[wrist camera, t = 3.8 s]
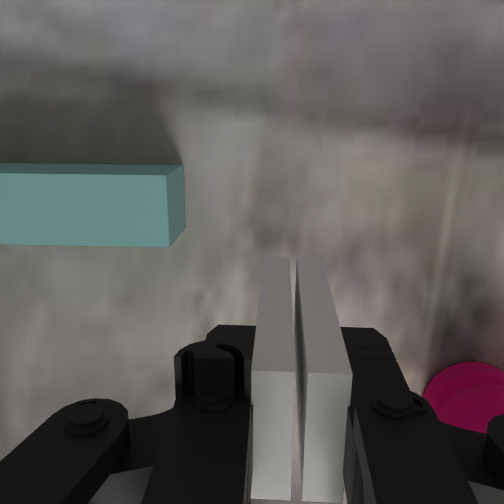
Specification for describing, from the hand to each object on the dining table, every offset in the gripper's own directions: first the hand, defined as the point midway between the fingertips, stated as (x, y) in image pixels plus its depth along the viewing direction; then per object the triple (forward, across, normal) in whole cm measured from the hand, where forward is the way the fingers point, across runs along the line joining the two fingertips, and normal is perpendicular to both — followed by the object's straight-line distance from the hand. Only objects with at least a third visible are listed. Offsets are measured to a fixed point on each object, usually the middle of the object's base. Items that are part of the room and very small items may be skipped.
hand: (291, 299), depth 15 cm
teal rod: (+17, +16, 0) cm, 23 cm away
